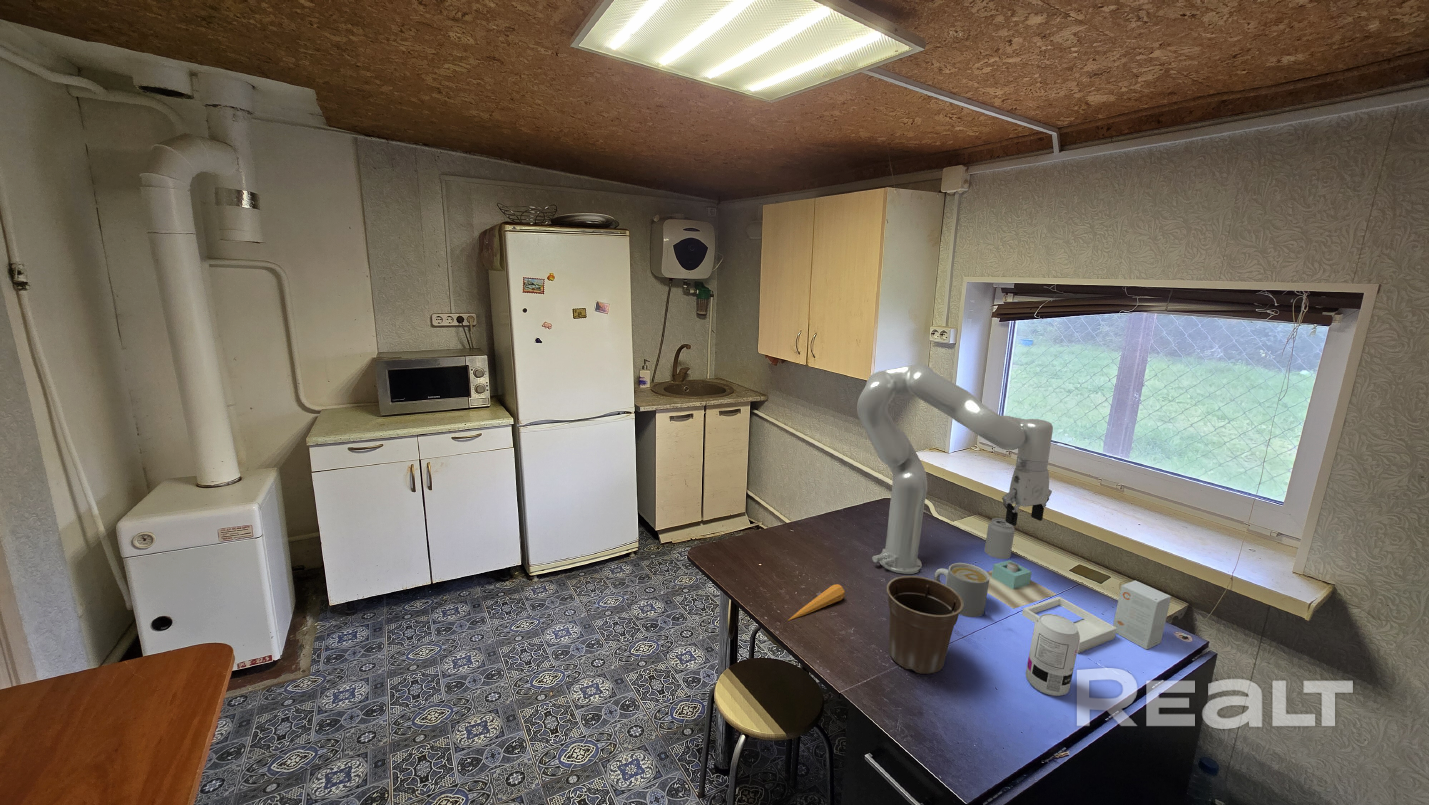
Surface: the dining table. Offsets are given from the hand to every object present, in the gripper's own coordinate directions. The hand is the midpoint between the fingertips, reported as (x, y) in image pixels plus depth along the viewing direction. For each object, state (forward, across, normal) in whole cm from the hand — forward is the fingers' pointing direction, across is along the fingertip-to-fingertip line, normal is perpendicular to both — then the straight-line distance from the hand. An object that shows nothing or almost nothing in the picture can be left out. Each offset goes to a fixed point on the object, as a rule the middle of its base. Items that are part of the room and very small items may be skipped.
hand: (1023, 521), depth 155 cm
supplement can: (+20, -28, -33) cm, 48 cm away
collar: (+18, -2, 0) cm, 18 cm away
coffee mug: (+19, -24, -3) cm, 31 cm away
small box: (+20, +9, -28) cm, 36 cm away
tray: (+20, -5, -20) cm, 29 cm away
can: (+20, +8, +14) cm, 26 cm away
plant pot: (+19, -49, -17) cm, 56 cm away
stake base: (+20, -4, -2) cm, 20 cm away
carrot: (+19, -62, +7) cm, 66 cm away
